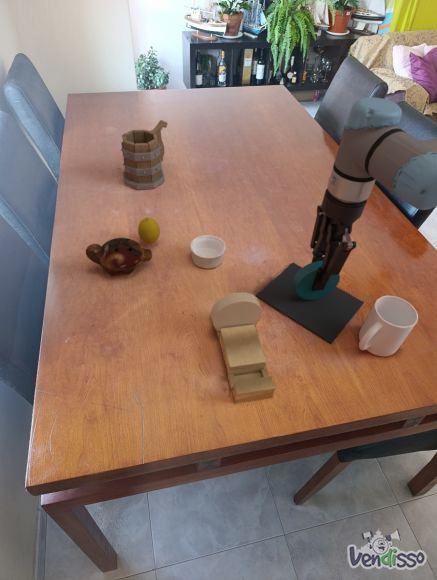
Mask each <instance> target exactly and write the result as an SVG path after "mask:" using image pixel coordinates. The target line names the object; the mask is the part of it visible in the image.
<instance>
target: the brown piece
mask: <svg viewBox="0 0 437 580" xmlns="http://www.w3.org/2000/svg"><path fill="white" fill-rule="evenodd" d="M85 255H86V257H87V259H88V260H90V261H91V262H93V263H95V264H97V265H99V266H100V267H101V268H102V269H103V270H104V272H105V273H106V274H107V275H108V276H110V277H112V276H114V275H116V274H117V273H118V272H123V273H125V274H126V275H130V274H132V273H133V272H134V270H135V267H137V266H138V265H139V264H140V263H144V262H150V261H151V260H152V258H153V251H152V249H150V248H146V247H145V248H144V247H143V246H142V245H141V244H140V243H139V242H138V241H136V240H134V239H131V238H127V237H116V238H112V239H109V240H107V241H106V242H104V243H103V244H102V245H101V244H100V243H91V244H89V245H88V246H87V247H86V249H85Z"/></svg>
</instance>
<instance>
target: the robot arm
mask: <svg viewBox="0 0 437 580" xmlns="http://www.w3.org/2000/svg"><path fill="white" fill-rule="evenodd" d="M402 115H403V110H402V108H401V107H400V106H399V104H397V103H396V102H394V101H392V100H390V99H386V98H381V97H362V98H360V99H358V100H356V101H355V102H354V103H353V104H352V106H351V108H350V111H349V113H348V116H347V119H346V120H345V121H346V122H345V124H343V130H342V131H343V132H342V135H341V138H340V142H339V145H338V148H337V153H336V155H335V158H334V161H333V165H332V169H331V173H330V176H329V177H328V183H327V185H326V186H327V187H326V189H325V191H324V195H323V198H322V201H321V204H320V205H317V207H316V218H315V222H314V226H313V232H312V235H311V240H310V244H309V247H310V249H312V260H311V262H310V263H312V262H316V261H323V263H322V267H319V268H318V271H317V274H316V277H315V280H314V283H313V286H312V291H319V290H324V288H325V286H326V283H327V282H328V280H329V278H330V276H331V275H340V273H341V271H342V269H343V267H344V266H345V264H346V262H347V260H348V258H349V256H350V255H351V253H352V251H353V250H354V249H356V248H357V244H358V243H357V241H356V240H352V238H351V234H352V231H353V225H354V223H355V222H356V221H357V220H360V218H361V217H362V215H363V212H364V210H365V208H366V206H367V202H368V199H369V197H370V196H371V193H372V191H373V188H374V185H375V183H376V181H377V182H378V183H379V184H381V185H382V186H383V187H385V188H386V190H388V191H389V192H391V193H392V194H393V195H395V197H396V198H397V199H398V200H400V201H402V202H404V203H407V204H408V205H410V206H412V207H413V208H414V209H416V210H420V211H427V210H431V209H434V208H436V207H437V137H434V138H429V139H424V140H423V139H419V138H417V137H415V136H413V135H411V134H410V133H408V132H406V131H405V130H403V129H402V128H400V127H399V125H400V123H401V118H402Z"/></svg>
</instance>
